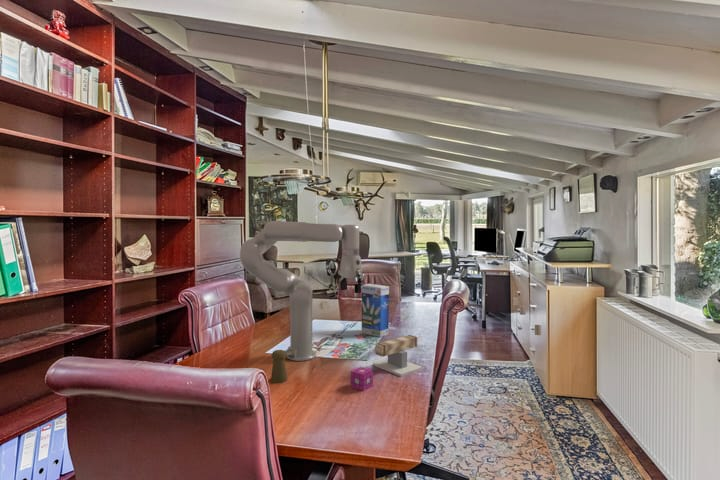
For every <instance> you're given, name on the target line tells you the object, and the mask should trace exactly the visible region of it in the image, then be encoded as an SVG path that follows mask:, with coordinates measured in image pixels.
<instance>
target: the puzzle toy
mask: <svg viewBox="0 0 720 480" xmlns="http://www.w3.org/2000/svg"><path fill="white" fill-rule="evenodd" d="M373 386H374V370H372V369H369V368H366V367H363V366H359V367H357V368H355V369H352V370H351V371H350V387H351V388H353V389H356V390H358V391H361V392H364V391H366V390H368V389H370V388H372V387H373Z"/></svg>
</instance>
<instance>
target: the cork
mask: <svg viewBox="0 0 720 480" xmlns="http://www.w3.org/2000/svg"><path fill="white" fill-rule="evenodd" d="M286 358H287V356H286V352H285V351H284V350H283V349H276V350H273V351H272V353H271V359H272V369H271V375H270V376H271V377H270V382H271V383H273V384H282V383H283V384H284V383H285V382H288V375H287V367H286V360H285V359H286Z"/></svg>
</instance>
